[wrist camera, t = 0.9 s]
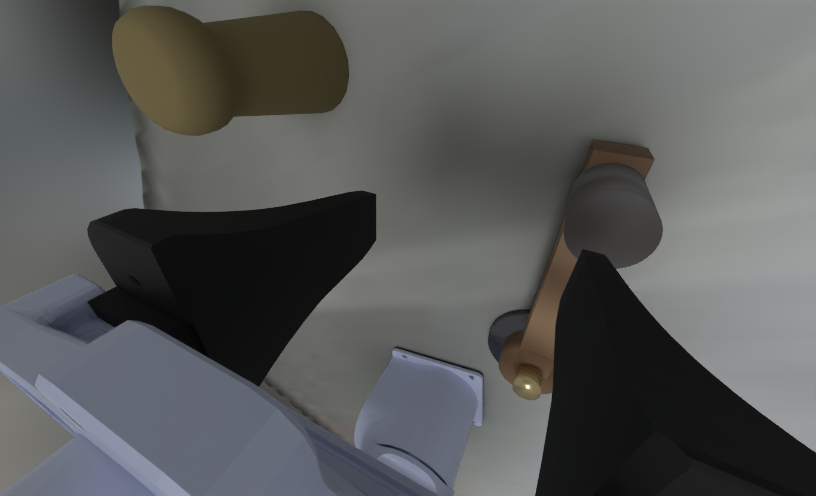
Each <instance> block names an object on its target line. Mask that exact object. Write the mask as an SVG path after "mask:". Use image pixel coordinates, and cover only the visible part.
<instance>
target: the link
mask: <svg viewBox="0 0 816 496" xmlns="http://www.w3.org/2000/svg"><path fill="white" fill-rule="evenodd" d="M653 162H654V158H653V156H652V154H651V153H650V151H649V149H648V148H644V147H637V146H630V145H624V144H617V143H610V142H604V141H597V140H593V142H592V145H591V147H590V150H589V153H588V156H587V158H586V161H585V164H584V166H583V169H582V172H581V174H580V175H579V176H578V177H577V178H576V179H575V180H574V182H573V183H572V185H571V187H570V190H569V195H568V203H567V211H566V215H565V218H564V221H563V224H562V226H561V229H560V232H559V235H558V237H557V240H556V243H555V245H554V248H553V251H552V254H551V256H550V259H549V262H548V264H547V267H546V270H545V273H544V275H543V278H542V281H541V284H540V286H539V289H538V292H537V294H536V297H535V300H534V303H533V305H532V308H531V311H530V313H529V316H528V319H527V322H526V324H525V327H524V330H523V331H517V332H514V333H512V334H510V335H509V336H508V337H507V338H506V340H505V342H504V346H503V349H502V353H501V357H500V360H499V369H500V372H501V374H502V375H503V377H504V378H505V379H506V380H507V381H508V382H509V383H511V384H512V385H513V383H514V379H515V374H516V369H517V367H518V366H520V365H531V366H534V367H536V368H537V369H539V370H540V371H541V373H542V375H543V378H542V386H541V393H540V394H548V393H552V391H553V369H554V343H555V324H556V319H557V313H558V308H559V303H560V298H561V296H562V294H563V292H564V289H565V287H566V285H567V283H568V280H569V278H570V276H571V274H572V271H573V269H574V267H575V265H576V262H577V260H578V258H579V256H580V253H581V251H582V249H585V250H589V251H593V252H597V253H601V254H604V255H606V257H607V258H608V259H609V260H610V262H611V263H612V265H613V266H614V267H615V269H618V268H624V267H628V266H631V265H634V264H637V263H639V262H641V261H642V260H644V259H645V258H647V257H648V256H649V255H651V254H652V253H653V251H654V250H655V249H656V248H657V246H658V245H659V243H660V241H661V237H662V232H663V228H662V222H661V219H660V217H659V214H658V212H657V209H656V207H655V204H654V202H653V200H652V197H651V195H650V192H649V190H648V187H647V185H646V183H645V181H644V180H645V178H646V176H647V174H648V172H649V170H650V168H651V166H652V164H653Z"/></svg>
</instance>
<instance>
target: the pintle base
mask: <svg viewBox="0 0 816 496" xmlns="http://www.w3.org/2000/svg"><path fill="white" fill-rule="evenodd" d="M530 311H531V310H517V311H512V312H508V313H506V314H504V315H502V316H500V317H499V318H498V319H497V320H496V321H495V322H494V323H493V325H492V327H491V330H490V333H489V337H488V344H489V348H490V351H491V353H492V355H493V356H494V358H495V359H496V360H497V361H498V362H499V360H500V357H501V353H502V349H503V346H504V342H505V340H506V338H507V337H508V336H509V335H510V334H512V333H514V332H517V331H523V330H524V327H525V324H526V322H527V319H528V316H529V313H530ZM542 378H543V375H542V373H541V371H540V370H539V369H537V368H536V367H534V366H531V365H520V366H518V367H517V369H516V374H515V379H514V383H513V390H514V392H515V393H516V394H517V395H518V396H520V397H522V398H524V399H527V400H536V399H538V398H539V397H540V393H541V386H542Z"/></svg>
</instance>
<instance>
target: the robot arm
mask: <svg viewBox="0 0 816 496" xmlns="http://www.w3.org/2000/svg"><path fill="white" fill-rule="evenodd" d="M87 230H88V236H89V239H90V241H91V244H92V246H93V248H94V250H95V251H96V253H97V255H98V256H99V258H100V260H101V262H102V263H103V265H104V266H105V268H106V270H107V271H108V273H109V274H110V276H111V278H112V279H113V281H114V283H115V284H116V286H117V287H115V288H113V289H111V290H109V291H107V292H106V291H105V290H104V289H103V288H102V287H101V286H99V285H98V284H97V283H95V282H93V281H91V280H89V279H88V278H86V277H84V276H82V275H80V274H76V273H75V274H72V275H70V276H67V277H65V278H63V279H61V280H59V281H56V282H54V283H52V284H50V285H47V286H45V287H43V288H41V289H38V290H36V291H34V292H32V293H30V294H27V295H25V296H23V297H21V298H18V299H16V300H14V301H12V302H9V303H7V304H5V305H3V306H1V307H0V371H1V372H2V373H3V374H4V375H5V376H6V377H7V378H8V379H9V380H11V381H12V382H13V383H14V384H15V385H16V386H17V387H18V388H20V389H21V390H22V391H23V392H24V393H25V394H27V395H28V396H29V397H30V398H31V399H32V400H33V401H34V402H36V403H37V404H38V405H39V406H40V407H41V408H43V409H44V410H45V411H46V412H47V413H48V414H49V415H51V416H52V417H53V418H54V419H55V420H56V421H57V422H59V423H60V424H61V425H62V426H63V427H64V428H65V429H67V430H68V431H69V432H70V433H71V434H72V435H74V436H75V438H73V439H72V440H71V441H70V442H68V443H67V444H66V445H65V446H63V447H62V448H61V449H59V450H58V451H57V452H55V453H54V454H53V455H51V456H50V457H49V458H47V459H46V460H45V461H44V462H42V463H41V464H40V465H38V466H37V467H36V468H34V469H33V470H32V471H31V472H29V473H28V474H27V475H25V476H24V477H23V478H21V479H20V480H19V481H17V482H16V483H15V484H14V485H12V486H11V487H10V488H8V489H7V490H6V491H4V492H3V493H2V494H1V495H0V496H453V495H454V490H453V489H452V488H453V485H454V482H455V478H456V475H457V472H458V469H459V465H460V462H461V459H462V455H463V452H464V449H465V446H466V442H467V439H468V436H469V432H470V429H471V426H472V424H473V425H475V426H479V427H480V426H482V423H483V376H482V375H481V374H480V373H478V372H475V371H471V370H468V369H465V368H461V367H458V366H455V365H451V364H448V363H445V362H441V361H438V360H434V359H431V358H428V357H424V356H421V355H418V354H414V353H411V352H408V351H404V350H401V349H398V348H394V349H393V351H392V354H393V358H392V359H391V361H390V362H389V364H388V366H387V367H386V369H385V370H384V372H383V374H382V375H381V377H380V378H379V380H378V382H377V383H376V385H375V386H374V388H373V390H372V391H371V393H370V394H369V396H368V398H367V399H366V401H365V403H364V405H363V407H362V409H361V411H360V414H359V417H358V420H357V423H356V427H355V436H354V439H355V446H356V447H354V446H352V445H351V444H349V443H347V442H345V441H344V440H342V439H340V438H339V437H337V436H335V435H333V434H332V433H330V432H328V431H327V430H325V429H323V428H321V427H320V426H318V425H316V424H314V423H313V422H311V421H309V420H308V419H306V418H304V417H302V416H301V415H299V414H297V413H296V412H294V411H292V410H290V409H288V408H287V407H285V406H283V405H282V404H281V403H280V402H278V401H277V400H275V399H274V398H273V397H271V396H270V395H269V394H267V393H266V392H265V391H263V390H262V389H260V388H259V386H260V385H261V383H262V381H263V380H264V378H265V377H266V375H267V373H268V372H269V370H270V369H271V367H272V366H273V364H274V363H275V361H276V360H277V358H278V357H279V355H280V354H281V353H282V351H283V350H284V348H285V347H286V345H287V344H288V342H289V341H290V340H291V338H292V337H293V336H294V334H295V333H296V332H297V330H298V329H299V328H300V326H301V325H302V324H303V322H304V321H305V320H306V318H307V317H308V316H309V315H310V313H311V312H312V311H313V310H314V308H315V307H316V306H317V305H318V304H319V302H320V301H321V300H322V299H323V298H324V297H325V296H326V295H327V294H328V293H329V292H330V291H331V290H332V289H333V288H334V287H335V286H336V285H337V284H338V283H339V282H340V281H341V280H342V279H343V278H344V277H345V276H346V275H347V274H348V273H349V272H350V271H351V270H352V269H353V268H354V267H355V266H356V265H357V264H358V263H359V262H360V261H361V260H362V259H363V258H364V256H365V255H366V254H367V252H368V251H369V250H370V248H371V247H372V245H373V244H374V242H375V241H376V194H373V193H369V192H365V191H354V192H348V193H343V194H338V195H334V196H329V197H325V198H321V199H316V200H312V201H307V202H302V203H297V204H291V205H286V206H280V207H274V208H266V209H257V210H246V211H228V212H179V211H163V210H149V209H137V208H132V209H125V210H121V211H118V212H116V213H113V214H110V215H108V216H105V217H102V218H99V219H97V220H94V221H91V222H90V224H89V226H88V229H87ZM535 496H816V453H815V452H814V451H812V450H811V449H809V448H808V447H807V446H805V445H804V444H802V443H801V442H799V441H798V440H797V439H795V438H794V437H793V436H791V435H790V434H789V433H787V432H786V431H784V430H783V429H782V428H780V427H779V426H778V425H776V424H775V423H773V422H772V421H771V420H769V419H768V418H767V417H765V416H764V415H763V414H761V413H760V412H759V411H757V410H756V409H755V408H753V407H752V406H751V405H750V404H748V403H747V402H746V401H744V400H743V399H742V398H741V397H739V396H738V395H737V394H735V393H734V392H733V391H732V390H731V389H729V388H728V387H727V386H726V385H725V384H723V383H722V382H721V381H720V380H719V379H717V378H716V377H715V376H714V375H713V374H711V373H710V372H709V371H708V370H707V369H706V368H704V367H703V366H702V365H701V364H700V363H699V362H698V361H697V360H695V359H694V358H693V357H692V356H691V355H690V354H689V353H688V352H687V351H686V350H685V349H684V348H683V347H682V346H681V345H680V344H679V343H678V342H677V341H676V340H675V339H673V338H672V337H671V336H670V335H669V333H668V332H667V331H666V330H665V329H664V328H663V327H662V326H661V325H660V324H659V323H658V322H657V321H656V319H655V318H654V317H653V316H652V315H651V314H650V313H649V311H648V310H647V309H646V308H645V307H644V306H643V304H642V303H641V302H640V301H639V300H638V298H637V297H636V296H635V294H634V293H633V292H632V291H631V289H630V288H629V287H628V285H627V284H626V283H625V281H624V280H623V279H622V277H621V276H620V274H619V273H618V272H617V270H616V269H615V267H614V266H613V265H612V263H611V262H610V260H609V259H608V258H607V257H606V255H604V254H601V253H597V252H593V251H589V250H585V249H582V251H581V253H580V256H579V258H578V260H577V262H576V265H575V267H574V269H573V271H572V274H571V276H570V278H569V280H568V283H567V285H566V287H565V289H564V292H563V294H562V296H561V298H560V303H559V308H558V313H557V319H556V324H555V343H554V369H553V391H552V401H551V408H550V414H549V421H548V427H547V433H546V439H545V445H544V451H543V456H542V462H541V468H540V473H539V478H538V484H537V489H536V494H535Z"/></svg>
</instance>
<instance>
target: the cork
mask: <svg viewBox="0 0 816 496" xmlns="http://www.w3.org/2000/svg"><path fill="white" fill-rule="evenodd" d="M112 44H113V55H114V59H115V63H116V67H117V70H118V72H119V75H120V77H121V79H122V82H123V84H124V85H125V87H126V89H127V91H128V93H129V94H130V96H131V98H132V99H133V100H134V101H135V103H136V104H137V105H138V107H139V108H140V109H141V110H142V111H143V112H144V113H145V114H146V115H147V116H148V117H149V118H150V119H151V120H152V121H153V122H154V123H156V124H157V125H159V126H161V127H162V128H164V129H166V130H169V131H172V132H175V133H178V134H183V135H193V136H200V135H204V134H207V133H211V132H214V131H217V130H219V129H221V128H222V127H224V126H226V125H227V124H228V123H229V122H230V120H231V119H232V118H233V117H237V116H261V115H285V114H309V113H324V112H327V111H331V110H333V109H334V108H335V107H336V106H337V105H338V104H340V103H341V101H342V99H343V97H344V95H345V93H346V90H347V84H348V78H349V72H348V59H347V56H346V52H345V49H344V46H343V43H342V41H341V39H340V37H339V36H338V34H337V32H336V30H335V29H334V27H333V26H332V25H331V24H330V23H329V22H328V21H327V20H326V19H325V18H324V17H322V16H320V15H318V14H316V13H314V12H312V11H296V12H288V13H280V14H272V15H264V16H256V17H248V18H240V19H232V20H224V21H216V22H208V23H202V22H201V21H200V20H198V19H196V18H195V17H193V16H191V15H189V14H187V13H185V12H182V11H179V10H177V9H174V8H171V7H163V6H141V7H137V8H132V9H130V10H129V11H128V12H127V13H126V14H124V15H123V16H122V17H121V18H120V19H119V20H118V21H117V22H116V23H115V26H114V30H113V33H112Z"/></svg>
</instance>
